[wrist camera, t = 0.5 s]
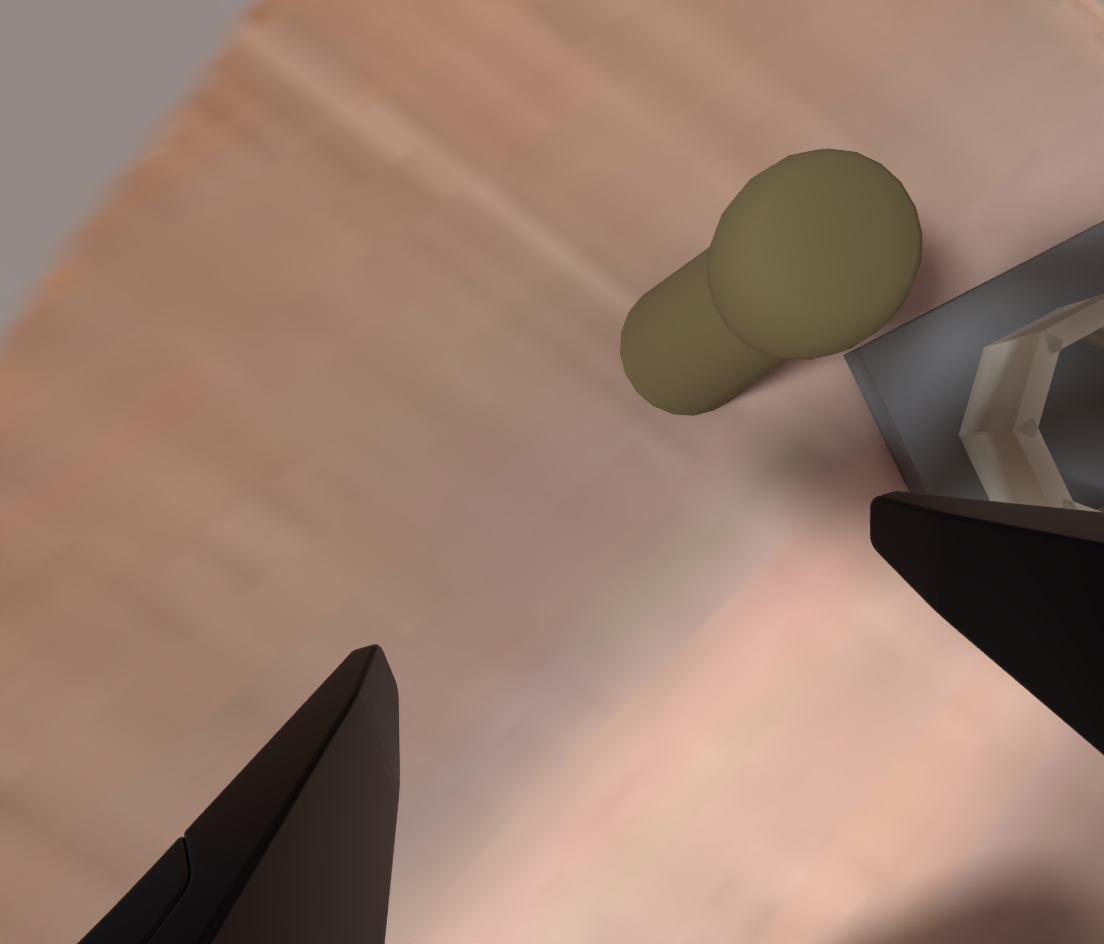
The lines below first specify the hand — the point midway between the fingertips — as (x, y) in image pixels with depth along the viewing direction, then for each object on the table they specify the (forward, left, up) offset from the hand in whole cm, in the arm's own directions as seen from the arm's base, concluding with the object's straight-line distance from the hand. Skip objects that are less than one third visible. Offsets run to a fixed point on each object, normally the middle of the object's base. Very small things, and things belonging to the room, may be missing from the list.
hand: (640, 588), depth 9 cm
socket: (-7, -23, -13) cm, 27 cm away
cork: (+4, -9, -14) cm, 17 cm away
